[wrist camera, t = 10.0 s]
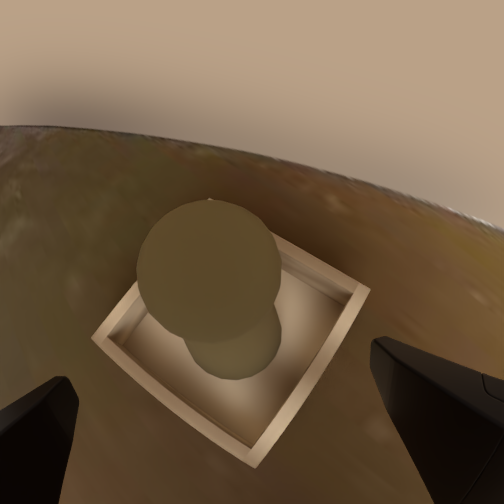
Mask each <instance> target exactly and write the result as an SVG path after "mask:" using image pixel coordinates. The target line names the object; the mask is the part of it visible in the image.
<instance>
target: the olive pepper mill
mask: <svg viewBox="0 0 504 504" xmlns="http://www.w3.org/2000/svg"><path fill="white" fill-rule="evenodd" d="M281 266H282V260H281V257H280V254H279V251H278V248H277V245H276V241H275V239H274V237H273V235H272V233H271V232H270V231H269V230H268V228H267V227H266V226H265V224H264V223H263V222H262V221H261V219H260V218H258V217H257V216H255V215H254V214H252V213H251V212H249V211H248V210H246V209H245V208H243V207H241V206H238V205H235V204H232V203H228V202H225V201H222V200H199V201H195V202H191V203H187V204H183V205H181V206H180V207H178V208H176V209H174V210H172V211H170V212H168V213H167V214H165V215H164V216H163V217H162V218H161V219H160V220H159V221H158V222H157V223H156V224H155V225H154V226H153V227H152V229H151V230H150V232H149V234H148V235H147V237H146V239H145V240H144V242H143V244H142V246H141V249H140V253H139V257H138V261H137V265H136V272H137V283H138V289H139V292H140V295H141V297H142V300H143V302H144V304H145V306H146V308H147V310H148V312H149V314H150V315H151V316H152V317H153V318H155V319H156V320H157V321H158V322H159V323H160V324H161V325H162V326H163V327H164V328H165V329H166V330H167V331H169V332H170V333H172V334H174V335H176V336H178V337H181V338H183V340H184V342H185V344H186V346H187V348H188V350H189V352H190V354H191V356H192V357H193V359H194V361H195V363H196V364H197V365H199V366H200V367H201V368H202V369H203V370H204V371H205V372H206V373H208V374H211V375H213V376H215V377H218V378H220V379H228V380H240V379H244V378H248V377H252V376H254V375H256V374H257V373H259V372H261V371H262V370H264V369H265V368H266V367H267V366H268V365H269V364H270V363H271V361H272V360H273V359H274V358H275V357H276V354H277V352H278V349H279V347H280V344H281V333H282V327H281V324H280V320H279V317H278V314H277V311H276V308H275V305H274V302H275V300H276V297H277V295H278V292H279V290H280V285H281Z"/></svg>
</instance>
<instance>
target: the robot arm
mask: <svg viewBox="0 0 504 504" xmlns="http://www.w3.org/2000/svg"><path fill="white" fill-rule="evenodd" d="M370 368H371V372H372V374H373V377H374V379H375V382H376V384H377V387H378V389H379V392H380V394H381V397H382V400H383V402H384V405H385V407H386V410H387V412H388V414H389V416H390V418H391V420H392V422H393V424H394V425H395V427H396V429H397V431H398V433H399V435H400V437H401V439H402V441H403V442H404V444H405V446H406V448H407V450H408V452H409V454H410V456H411V458H412V460H413V462H414V464H415V466H416V468H417V470H418V472H419V474H420V476H421V478H422V480H423V482H424V484H425V486H426V488H427V490H428V492H429V494H430V496H431V498H432V500H433V502H434V504H504V380H501V379H498V378H495V377H492V376H489V375H487V374H484V373H482V374H481V372H478V371H476V370H473V369H470V368H467V367H465V366H462V365H459V364H457V363H454V362H451V361H449V360H446V359H443V358H441V357H438V356H436V355H433V354H430V353H428V352H425V351H423V350H420V349H417V348H415V347H412V346H410V345H407V344H404V343H402V342H399V341H397V340H394V339H392V338H389V337H386V336H383V337H379V338H376V339H373V340H372V342H371V352H370ZM78 407H79V398H78V396H77V394H76V392H75V390H74V388H73V386H72V384H71V382H70V380H69V379H68V378H67V377H66V376H56V377H54V378H52V379H50V380H49V381H47V382H45V383H44V384H42V385H41V386H39V387H37V388H36V389H34V390H33V391H31V392H29V393H28V394H26V395H25V396H23V397H21V398H20V399H18V400H16V401H15V402H13V403H12V404H10V405H8V406H7V407H5V408H4V409H2V410H0V504H59V498H60V494H61V489H62V484H63V480H64V475H65V471H66V467H67V463H68V459H69V455H70V451H71V447H72V442H73V437H74V430H75V424H76V418H77V413H78Z"/></svg>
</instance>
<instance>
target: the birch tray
mask: <svg viewBox="0 0 504 504" xmlns="http://www.w3.org/2000/svg"><path fill="white" fill-rule="evenodd" d="M208 200H213V199H211V198H208ZM271 233H272V232H271ZM272 235H273V237H274V239H275V241H276V245H277V248H278V251H279V254H280V257H281V260H282V266H281V285H280V290H279V292H278V295H277V297H276V300H275V302H274V305H275V308H276V311H277V314H278V317H279V320H280V324H281V327H282V333H281V344H280V347H279V349H278V352H277V354H276V357H275V358H274V359H273V360H272V361H271V363H270V364H269V365H268V366H267V367H266V368H265V369H264V370H262V371H261V372H259V373H257V374H256V375H254V376H252V377H248V378H244V379H240V380H228V379H220V378H218V377H215V376H213V375H211V374H208V373H206V372H205V371H204V370H203V369H202V368H201V367H200V366H199V365H197V364H196V363H195V361H194V359H193V357H192V356H191V354H190V352H189V350H188V348H187V346H186V344H185V342H184V340H183V338H181V337H178V336H176V335H174V334H172V333H170V332H169V331H167V330H166V329H165V328H164V327H163V326H162V325H161V324H160V323H159V322H158V321H157V320H156V319H155V318H153V317H152V316H151V315H150V314H149V312H148V310H147V308H146V306H145V304H144V302H143V300H142V297H141V295H140V292H139V289H138V283H137V281H136V282H135V283H134V285H133V286H132V287H131V288H130V289H129V291H128V292H127V293H126V294H125V296H124V297H123V298H122V299H121V300H120V302H119V303H118V304H117V305H116V307H115V308H114V309H113V310H112V312H111V313H110V314H109V315H108V317H107V318H106V319H105V321H104V322H103V323H102V324H101V326H100V327H99V328H98V330H97V331H96V332H95V333H94V335H93V336H92V337H91V339H92V340H93V341H94V342H95V343H96V344H97V345H98V346H99V347H100V348H101V349H102V350H103V351H104V352H105V353H106V354H107V355H108V356H109V357H110V358H111V359H113V360H114V361H115V362H116V363H117V364H118V365H119V366H120V367H121V368H122V369H123V370H124V371H125V372H127V373H128V374H129V375H130V376H131V377H132V378H133V379H134V380H135V381H137V382H138V383H139V384H140V385H141V386H142V387H143V388H145V389H146V390H147V391H148V392H149V393H151V394H152V395H153V396H154V397H155V398H157V399H158V400H159V401H160V402H161V403H163V404H164V405H165V406H166V407H168V408H169V409H170V410H171V411H173V412H174V413H175V414H176V415H178V416H179V417H180V418H182V419H183V420H184V421H186V422H187V423H188V424H190V425H191V426H192V427H194V428H195V429H196V430H198V431H199V432H200V433H202V434H203V435H205V436H206V437H207V438H209V439H210V440H212V441H213V442H215V443H216V444H218V445H219V446H220V447H222V448H223V449H225V450H226V451H228V452H229V453H231V454H232V455H234V456H236V457H237V458H239V459H240V460H242V461H243V462H245V463H247V464H248V465H250V466H251V467H253V468H256V467H257V466H258V465H259V463H260V462H261V461H262V459H263V458H264V457H265V456H266V454H267V453H268V452H269V450H270V449H271V448H272V446H273V445H274V444H275V442H276V441H277V440H278V438H279V437H280V435H281V434H282V433H283V431H284V430H285V429H286V427H287V426H288V424H289V423H290V421H291V420H292V419H293V417H294V416H295V414H296V413H297V411H298V410H299V408H300V407H301V406H302V404H303V403H304V401H305V400H306V398H307V397H308V395H309V394H310V392H311V391H312V389H313V387H314V386H315V384H316V383H317V381H318V380H319V378H320V377H321V375H322V373H323V372H324V370H325V369H326V367H327V365H328V364H329V362H330V361H331V359H332V357H333V356H334V354H335V352H336V351H337V349H338V347H339V346H340V344H341V342H342V340H343V339H344V337H345V335H346V334H347V332H348V330H349V328H350V327H351V325H352V323H353V321H354V319H355V318H356V316H357V314H358V312H359V310H360V309H361V307H362V305H363V303H364V301H365V299H366V297H367V296H368V294H369V292H370V290H371V289H369V288H368V287H366V286H364V285H363V284H361V283H359V282H358V281H356V280H354V279H352V278H351V277H349V276H347V275H346V274H344V273H342V272H340V271H339V270H337V269H335V268H334V267H332V266H330V265H328V264H327V263H325V262H323V261H321V260H320V259H318V258H316V257H314V256H313V255H311V254H309V253H307V252H306V251H304V250H302V249H300V248H299V247H297V246H295V245H293V244H292V243H290V242H288V241H286V240H285V239H283V238H281V237H279V236H278V235H276V234H274V233H272Z"/></svg>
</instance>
